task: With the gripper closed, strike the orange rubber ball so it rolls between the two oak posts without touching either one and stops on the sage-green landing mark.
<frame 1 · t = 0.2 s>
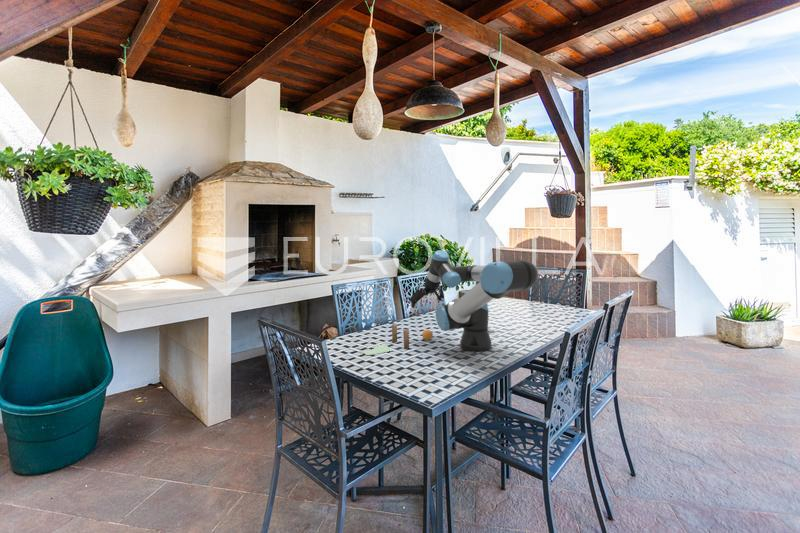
hand: (423, 309, 204), 15 cm above the table, tool tilted 30°, fingers open, 13 cm apart
ball: (427, 334, 199), on the table
vase: (478, 331, 215), on the table
post 1: (394, 341, 197), on the table
landing mark: (375, 349, 185), on the table
post 2: (406, 348, 186), on the table
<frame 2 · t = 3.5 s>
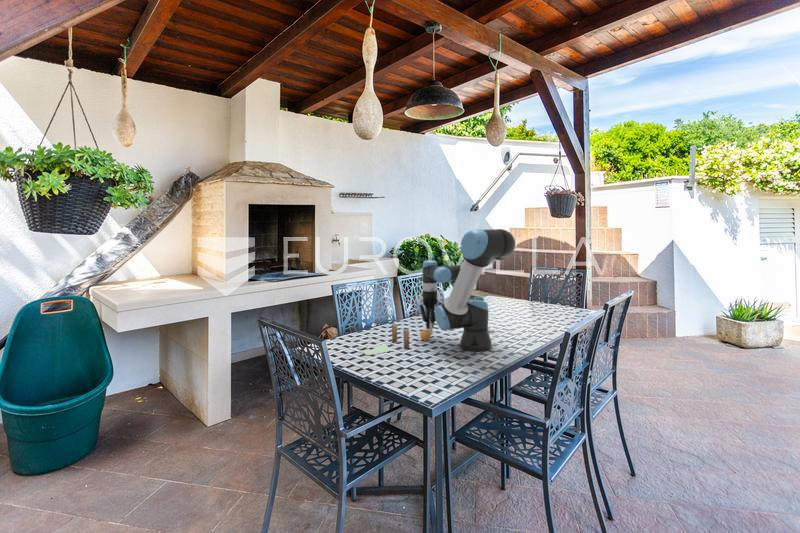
hand: (430, 334, 201), 3 cm above the table, tool pointing down, fingers closed
ball: (425, 335, 198), on the table, touching gripper
everything else where it was.
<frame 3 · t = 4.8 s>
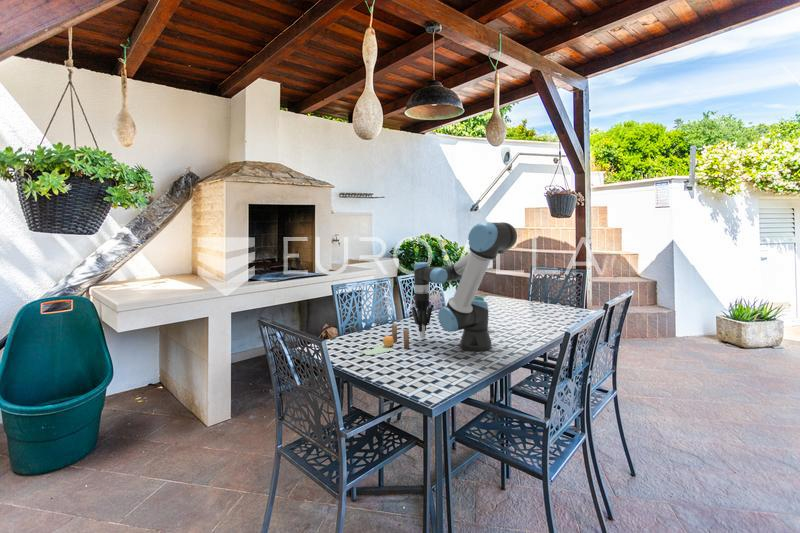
hand: (422, 337, 198), 2 cm above the table, tool pointing down, fingers closed
ball: (388, 341, 189), on the table
everything else where it was.
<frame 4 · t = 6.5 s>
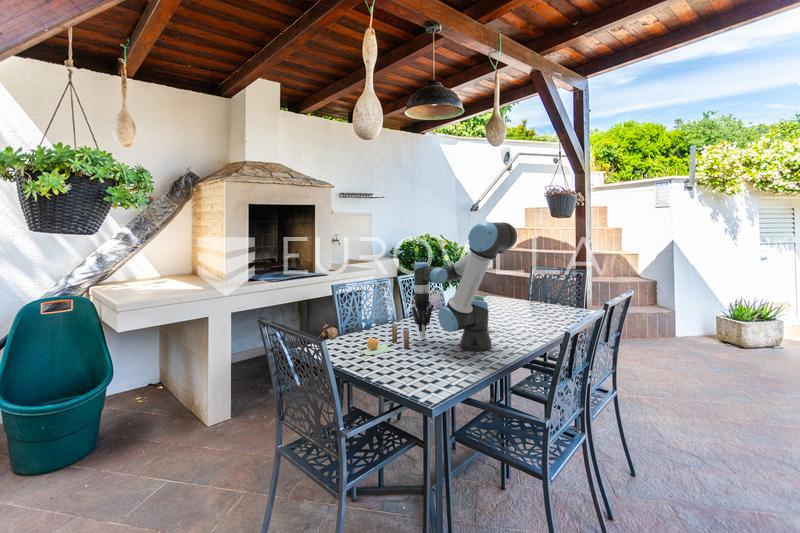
hand: (422, 337, 198), 2 cm above the table, tool pointing down, fingers closed
ball: (372, 343, 185), on the table
everything else where it was.
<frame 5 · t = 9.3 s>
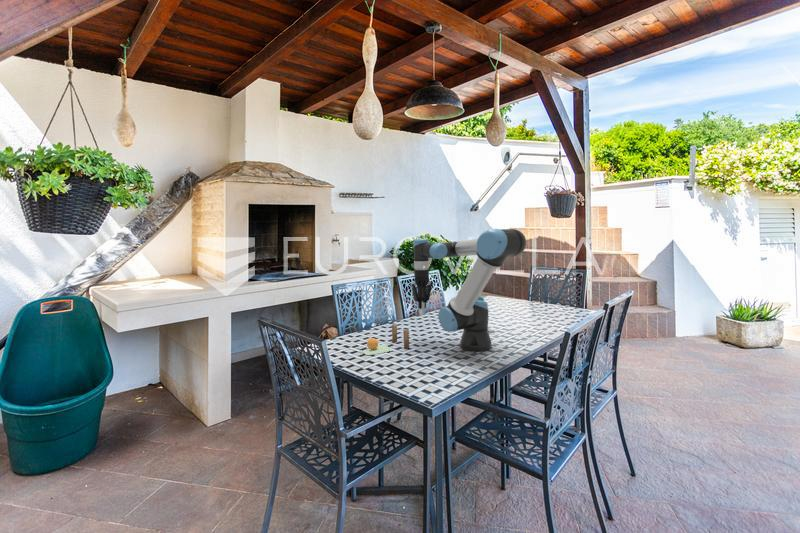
hand: (422, 314, 196), 14 cm above the table, tool pointing down, fingers closed
nothing on the table moved.
at the end: ball 1.1 cm from the landing mark (horizontally); ball never touched post 2; ball never touched post 1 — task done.
